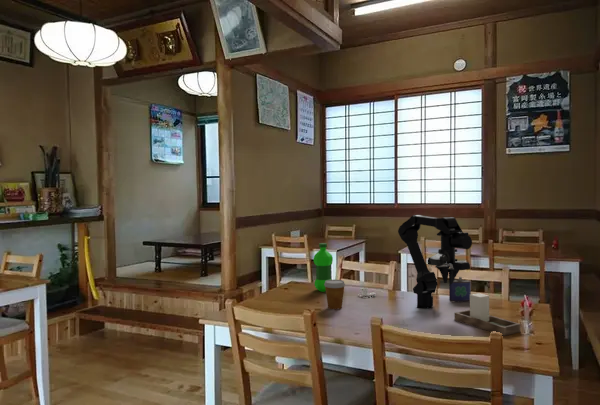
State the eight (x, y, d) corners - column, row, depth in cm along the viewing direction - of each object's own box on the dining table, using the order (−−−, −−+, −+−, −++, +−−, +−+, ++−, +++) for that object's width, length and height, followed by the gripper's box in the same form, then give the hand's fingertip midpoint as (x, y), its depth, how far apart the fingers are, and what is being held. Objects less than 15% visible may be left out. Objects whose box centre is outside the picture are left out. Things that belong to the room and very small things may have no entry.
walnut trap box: (454, 320, 180) (454, 312, 180) (470, 316, 184) (469, 309, 184) (504, 336, 160) (504, 327, 159) (520, 331, 164) (520, 323, 164)
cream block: (469, 319, 175) (469, 294, 175) (478, 317, 178) (478, 293, 177) (480, 323, 171) (480, 297, 171) (489, 321, 173) (489, 295, 173)
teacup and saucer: (377, 296, 223) (377, 288, 223) (370, 299, 217) (370, 291, 217) (361, 294, 228) (361, 286, 228) (354, 297, 221) (354, 289, 221)
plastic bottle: (337, 290, 236) (336, 243, 236) (324, 293, 229) (324, 245, 228) (322, 287, 243) (321, 242, 242) (310, 291, 235) (309, 244, 234)
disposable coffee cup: (348, 306, 204) (347, 280, 203) (341, 311, 195) (340, 284, 195) (328, 304, 208) (328, 278, 207) (321, 309, 199) (320, 282, 199)
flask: (469, 300, 211) (469, 276, 211) (472, 301, 208) (471, 277, 207) (448, 300, 211) (448, 276, 211) (450, 302, 208) (450, 277, 208)
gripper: (417, 246, 192) (418, 281, 192) (451, 250, 176) (451, 290, 176) (436, 244, 197) (437, 279, 198) (470, 248, 181) (471, 286, 181)
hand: (448, 283), depth 188 cm, fingers open, 3 cm apart
